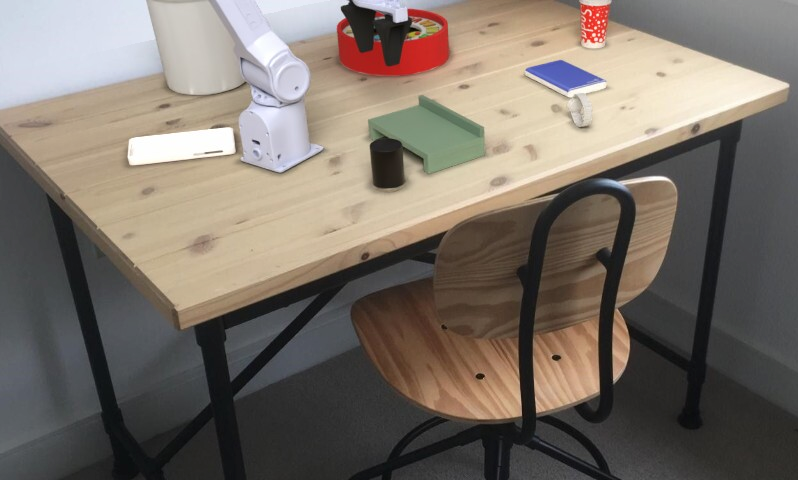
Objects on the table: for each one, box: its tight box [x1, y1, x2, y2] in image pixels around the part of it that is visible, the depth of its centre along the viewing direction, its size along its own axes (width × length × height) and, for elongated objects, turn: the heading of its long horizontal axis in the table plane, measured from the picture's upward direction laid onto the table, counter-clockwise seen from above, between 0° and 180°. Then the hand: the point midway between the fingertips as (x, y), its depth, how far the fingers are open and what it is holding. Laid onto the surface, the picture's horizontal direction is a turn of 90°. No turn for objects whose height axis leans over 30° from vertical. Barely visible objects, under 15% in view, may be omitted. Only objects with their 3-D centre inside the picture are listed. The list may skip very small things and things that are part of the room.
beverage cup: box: [578, 0, 613, 50], centre depth 178 cm, size 6×6×14 cm
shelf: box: [367, 94, 486, 175], centre depth 143 cm, size 10×16×4 cm, turn 38°
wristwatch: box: [566, 93, 593, 128], centre depth 149 cm, size 3×5×5 cm, turn 21°
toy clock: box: [336, 8, 450, 77], centre depth 175 cm, size 20×6×20 cm
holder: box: [369, 137, 406, 193], centre depth 132 cm, size 5×5×6 cm
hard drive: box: [524, 59, 607, 99], centre depth 166 cm, size 2×8×12 cm
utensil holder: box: [145, 0, 247, 96], centre depth 161 cm, size 15×15×18 cm
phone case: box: [127, 126, 237, 166], centre depth 143 cm, size 7×1×15 cm
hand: (379, 57), depth 146 cm, fingers open, 7 cm apart
